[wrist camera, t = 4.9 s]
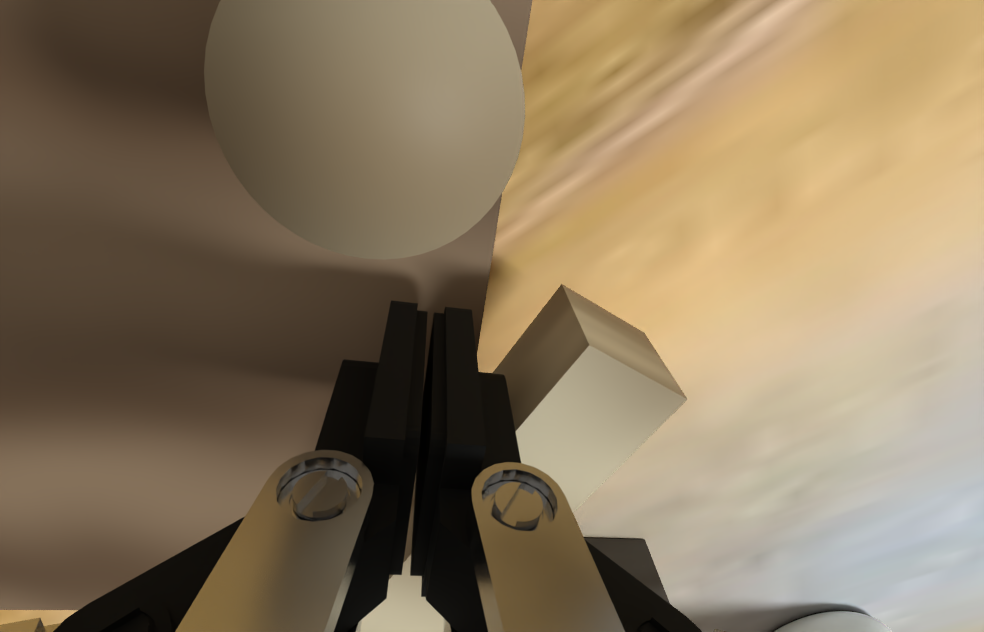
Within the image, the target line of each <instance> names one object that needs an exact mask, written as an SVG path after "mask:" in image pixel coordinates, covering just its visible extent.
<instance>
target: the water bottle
mask: <svg viewBox="0 0 984 632" xmlns="http://www.w3.org/2000/svg"><path fill="white" fill-rule="evenodd" d="M774 632H893V631H892V630H891V629H890V628H889V627H888V626H887V625H885V624H884V623H883V622H881V621H879V620H877V619H875V618H873V617H871V616H868V615H865V614H861V613H856V612H848V611H834V612H825V613H819V614H815V615H811V616H807V617H804V618H801V619H798V620H796V621H793V622H791V623H789V624H786V625H785V626H783V627H781V628H779V629H777V630H776V631H774Z"/></svg>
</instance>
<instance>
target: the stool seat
mask: <svg viewBox="0 0 984 632" xmlns="http://www.w3.org/2000/svg"><path fill="white" fill-rule="evenodd" d="M531 5H532V0H0V610H80V609H81V608H83V607H84V606H86V605H87V604H89V603H90V602H92V601H94V600H96V599H97V598H99V597H101V596H103V595H105V594H106V593H108V592H110V591H112V590H114V589H115V588H117V587H119V586H121V585H123V584H124V583H126V582H128V581H130V580H132V579H133V578H135V577H137V576H139V575H140V574H142V573H144V572H146V571H148V570H149V569H151V568H153V567H155V566H157V565H158V564H160V563H162V562H164V561H166V560H167V559H169V558H171V557H173V556H175V555H176V554H178V553H180V552H182V551H184V550H185V549H187V548H189V547H191V546H193V545H194V544H196V543H198V542H200V541H201V540H203V539H205V538H207V537H209V536H210V535H212V534H214V533H216V532H218V531H219V530H221V529H223V528H225V527H227V526H228V525H230V524H232V523H234V522H236V521H237V520H239V519H241V518H243V517H245V516H246V514H247V513H248V511H249V509H250V508H251V506H252V504H253V503H254V501H255V499H256V498H257V496H258V494H259V493H260V491H261V490H262V488H263V486H264V485H265V483H266V481H267V480H268V478H269V477H270V476H271V474H272V473H273V472H274V471H275V470H276V469H277V467H278V466H280V465H281V464H283V463H284V462H286V461H287V460H289V459H290V458H292V457H295V456H297V455H300V454H303V453H305V452H310V451H315V448H316V445H317V441H318V438H319V435H320V432H321V428H322V425H323V422H324V419H325V415H326V412H327V409H328V406H329V402H330V399H331V396H332V393H333V389H334V386H335V383H336V380H337V376H338V373H339V370H340V367H341V364H342V361H343V360H344V359H346V360H356V361H367V362H378V363H379V359H380V354H381V349H382V344H383V339H384V333H385V328H386V323H387V318H388V313H389V308H390V303H391V300H392V301H401V302H410V303H418V307H417V310H419V311H428V314H427V332H426V349H425V367H424V383H425V375H426V368H427V360H428V353H429V345H430V338H431V330H432V323H433V316H434V312H435V313H444V309H445V307H453V308H462V309H471V310H472V316H473V325H474V334H475V344H476V353H477V350H478V343H479V337H480V331H481V324H482V318H483V312H484V305H485V299H486V292H487V286H488V280H489V273H490V267H491V260H492V254H493V248H494V241H495V235H496V229H497V222H498V216H499V209H500V203H501V197H502V192H503V190H504V188H505V186H506V185H507V183H508V181H509V179H510V177H511V175H512V172H513V169H514V167H515V164H516V161H517V159H518V155H519V151H520V147H521V142H522V138H523V130H524V120H525V95H524V88H523V80H522V73H521V69H522V62H523V56H524V50H525V43H526V37H527V30H528V24H529V18H530V11H531ZM423 390H424V384H423ZM584 539H585V540H586V541H587V542H589V543H590V544H591V545H593V546H594V547H595V548H597V549H598V550H599V551H601V552H602V553H603V554H605V555H606V556H607V557H609V558H610V559H611V560H612V561H614V562H615V563H616V564H618V565H619V566H620V567H622V568H623V569H624V570H626V571H627V572H628V573H630V574H631V575H632V576H634V577H635V578H636V579H638V580H639V581H640V582H641V583H643V584H644V585H645V586H647V587H648V588H649V589H651V590H652V591H653V592H655V593H656V594H657V595H659V596H660V597H661V598H663V599H664V600H665V601H667V602H668V603H669V601H668V598H667V595H666V593H665V590H664V588H663V585H662V583H661V580H660V577H659V575H658V572H657V570H656V567H655V565H654V562H653V560H652V557H651V554H650V552H649V549H648V547H647V544H646V542H645V540H644V539H605V538H584ZM669 604H670V603H669Z"/></svg>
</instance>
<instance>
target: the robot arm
mask: <svg viewBox="0 0 984 632" xmlns="http://www.w3.org/2000/svg"><path fill="white" fill-rule="evenodd" d="M417 307H418V303H410V302H401V301H392V300H391V303H390V308H389V313H388V318H387V323H386V328H385V333H384V339H383V344H382V349H381V354H380V359H379V363H378V362H367V361H356V360H346V359H344V360H343V361H342V364H341V367H340V370H339V373H338V376H337V380H336V383H335V386H334V389H333V393H332V396H331V399H330V402H329V406H328V409H327V412H326V415H325V419H324V422H323V425H322V428H321V432H320V435H319V438H318V441H317V445H316V448H315V451H310V452H305V453H303V454H300V455H297V456H295V457H292V458H290V459H289V460H287V461H286V462H284V463H283V464H281V465H280V466H278V467H277V469H276V470H275V471H274V472H273V473H272V474H271V476H270V477H269V478H268V480H267V481H266V483H265V485H264V486H263V488H262V490H261V491H260V493H259V494H258V496H257V498H256V499H255V501H254V503H253V504H252V506H251V508H250V509H249V511H248V513H247V514H246V516H245V517H243V518H241V519H239V520H237V521H236V522H234V523H232V524H230V525H228V526H227V527H225V528H223V529H221V530H219V531H218V532H216V533H214V534H212V535H210V536H209V537H207V538H205V539H203V540H201V541H200V542H198V543H196V544H194V545H193V546H191V547H189V548H187V549H185V550H184V551H182V552H180V553H178V554H176V555H175V556H173V557H171V558H169V559H167V560H166V561H164V562H162V563H160V564H158V565H157V566H155V567H153V568H151V569H149V570H148V571H146V572H144V573H142V574H140V575H139V576H137V577H135V578H133V579H132V580H130V581H128V582H126V583H124V584H123V585H121V586H119V587H117V588H115V589H114V590H112V591H110V592H108V593H106V594H105V595H103V596H101V597H99V598H97V599H96V600H94V601H92V602H90V603H89V604H87V605H86V606H84V607H83V608H81V609H80V610H78V611H77V612H75V613H74V614H72V615H71V616H69V617H68V618H66V619H65V620H64V621H63V622H62V623H59V624H53V625H48V626H43V623H42V621H41V619H40V618H36V619H30V620H25V621H19V622H14V623H8V624H2V625H0V632H360V630H361V623H362V619H363V618H364V617H365V616H366V615H368V614H369V613H370V612H371V611H372V610H374V609H375V608H376V607H377V606H378V605H379V604H381V603H382V602H383V601H384V600H385V599H387V591H388V582H389V575H402V569H403V562H404V555H405V548H406V540H407V533H408V526H409V519H410V512H411V504H412V497H413V490H414V483H415V499H414V516H413V532H412V549H411V566H410V576H422V587H421V597H426V601H427V602H428V603H429V604H430V605H431V606H432V607H433V608H434V609H435V610H436V611H437V612H438V613H439V614H440V615H441V616H442V617H443V618H444V632H702V631H701V630H700V629H699V628H698V627H697V626H696V625H695V624H694V623H693V622H692V621H690V620H689V619H688V618H687V617H686V616H685V615H684V614H682V613H681V612H680V611H678V610H677V609H676V608H674V607H673V606H672V605H671V604H669V603H668V602H667V601H665V600H664V599H663V598H661V597H660V596H659V595H657V594H656V593H655V592H653V591H652V590H651V589H649V588H648V587H647V586H645V585H644V584H643V583H641V582H640V581H639V580H638V579H636V578H635V577H634V576H632V575H631V574H630V573H628V572H627V571H626V570H624V569H623V568H622V567H620V566H619V565H618V564H616V563H615V562H614V561H612V560H611V559H610V558H609V557H607V556H606V555H605V554H603V553H602V552H601V551H599V550H598V549H597V548H595V547H594V546H593V545H591V544H590V543H589V542H587V541H586V540H585V539H584V537H583V535H582V533H581V530H580V528H579V526H578V524H577V521H576V519H575V517H574V515H573V512H572V510H571V508H570V505H569V503H568V501H567V499H566V496H565V494H564V493H563V491H562V490H561V488H560V486H559V485H558V484H557V483H556V482H555V481H554V480H553V479H552V478H551V477H550V476H549V475H548V474H546V473H544V472H543V471H541V470H539V469H537V468H535V467H533V466H529V465H526V464H523V463H521V459H520V454H519V448H518V443H517V437H516V432H515V426H514V421H513V415H512V410H511V404H510V399H509V393H508V388H507V382H506V378H505V376H504V375H503V374H494V373H483V372H478V363H477V353H476V344H475V334H474V325H473V316H472V310H471V309H462V308H453V307H445V309H444V313H435V312H434V316H433V323H432V330H431V338H430V345H429V353H428V360H427V368H426V375H425V383H424V367H425V349H426V332H427V314H428V311H419V310H417ZM423 384H424V390H423ZM415 476H416V482H415ZM714 632H725V631H721V630H717V629H715V630H714Z"/></svg>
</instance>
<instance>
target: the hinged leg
mask: <svg viewBox="0 0 984 632" xmlns="http://www.w3.org/2000/svg"><path fill="white" fill-rule="evenodd" d="M493 373H494V374H503V375H504V376H505V378H506V382H507V388H508V393H509V399H510V404H511V410H512V415H513V421H514V426H515V432H516V437H517V443H518V448H519V454H520V459H521V463H523V464H526V465H529V466H533V467H535V468H537V469H539V470H541V471H543V472H544V473H546V474H548V475H549V476H550V477H551V478H552V479H553V480H554V481H555V482H556V483H557V484H558V485H559V486H560V488H561V490H562V491H563V493H564V494H565V496H566V499H567V501H568V503H569V505H570V508H571V510H572V512H573V513H574V512H575V511H576V510H577V509H578V508H579V507H580V506H581V505H582V504H583V503H584V502H585V501H586V500H587V499H588V498H589V497H590V496H591V495H592V494H593V493H594V492H595V491H596V490H597V489H598V488H599V487H600V486H601V485H602V484H603V483H604V482H605V481H606V480H607V479H608V478H609V477H610V476H611V475H612V474H613V473H614V472H615V471H616V470H617V469H618V468H619V467H620V466H621V465H622V464H623V463H624V462H625V461H626V460H627V459H628V458H629V457H630V456H631V455H632V454H633V453H634V452H635V451H636V450H637V449H638V448H639V447H640V446H641V445H642V444H643V443H644V442H645V441H646V440H647V439H648V438H649V437H650V436H651V435H652V434H653V433H654V432H655V431H656V430H657V429H658V428H659V427H660V426H661V425H662V424H663V423H664V422H665V421H666V420H667V419H668V418H669V417H670V416H671V415H672V414H673V413H674V412H675V411H676V410H677V409H678V408H679V407H680V406H681V405H682V404H683V403H684V402H685V401H686V400H687V398H686V396H685V395H684V393H683V392H682V390H681V389H680V387H679V386H678V384H677V382H676V381H675V379H674V378H673V376H672V375H671V373H670V372H669V370H668V369H667V367H666V366H665V364H664V362H663V361H662V359H661V358H660V356H659V355H658V353H657V352H656V350H655V349H654V347H653V346H652V344H651V342H650V341H649V339H648V338H647V336H646V335H645V333H644V332H642V331H640V330H638V329H637V328H635V327H633V326H632V325H630V324H628V323H627V322H625V321H623V320H622V319H620V318H618V317H617V316H615V315H613V314H611V313H610V312H608V311H606V310H605V309H603V308H601V307H600V306H598V305H596V304H595V303H593V302H591V301H589V300H588V299H586V298H584V297H583V296H581V295H579V294H578V293H576V292H574V291H573V290H571V289H569V288H567V287H566V286H564V285H562V284H561V286H560V287H559V288H558V290H557V291H556V292H555V293H554V295H553V296H552V297H551V299H550V300H549V301H548V302H547V304H546V305H545V306H544V308H543V309H542V310H541V311H540V313H539V314H538V315H537V317H536V318H535V319H534V320H533V322H532V323H531V324H530V326H529V327H528V328H527V329H526V331H525V332H524V333H523V335H522V336H521V337H520V338H519V340H518V341H517V342H516V344H515V345H514V346H513V347H512V349H511V350H510V351H509V353H508V354H507V355H506V356H505V358H504V359H503V360H502V362H501V363H500V364H499V365H498V367H497V368H496V369H495V371H494V372H493ZM415 482H416V476H415ZM414 499H415V483H414V490H413V497H412V504H411V512H410V519H409V526H408V533H407V540H406V548H405V555H404V562H403V569H402V575H389V582H388V591H387V599H385V600H384V601H383V602H382V603H381V604H379V605H378V606H377V607H376V608H375V609H374V610H372V611H371V612H370V613H369V614H368V615H366V616H365V617H364V618H363V619H362V623H361V630H360V632H444V618H443V617H442V616H441V615H440V614H439V613H438V612H437V611H436V610H435V609H434V608H433V607H432V606H431V605H430V604H429V603H428V602H427V601H426V597H421V587H422V576H410V566H411V549H412V532H413V516H414Z"/></svg>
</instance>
